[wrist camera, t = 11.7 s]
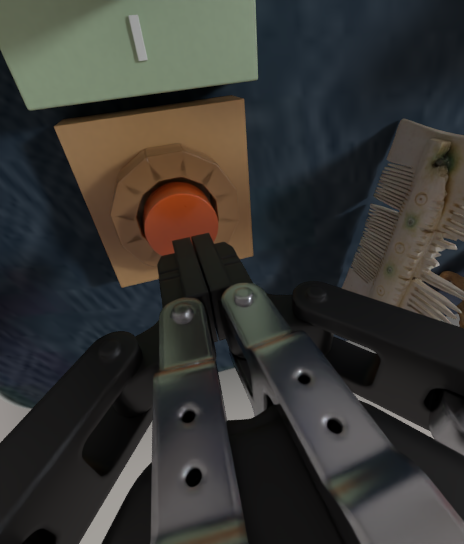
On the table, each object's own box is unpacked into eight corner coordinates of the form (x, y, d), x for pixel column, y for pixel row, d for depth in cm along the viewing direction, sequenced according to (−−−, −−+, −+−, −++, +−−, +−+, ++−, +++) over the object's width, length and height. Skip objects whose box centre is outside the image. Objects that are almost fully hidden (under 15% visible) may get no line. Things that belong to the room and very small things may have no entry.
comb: (384, 113, 19) (558, 146, 11) (413, 114, 20) (598, 146, 12) (330, 288, 28) (409, 376, 20) (352, 285, 28) (437, 369, 20)
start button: (134, 189, 14) (134, 202, 13) (205, 175, 15) (213, 186, 13) (153, 250, 16) (155, 268, 15) (215, 236, 17) (222, 252, 15)
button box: (62, 119, 15) (43, 133, 12) (232, 95, 16) (256, 101, 13) (122, 269, 20) (120, 306, 17) (243, 241, 22) (262, 270, 19)
